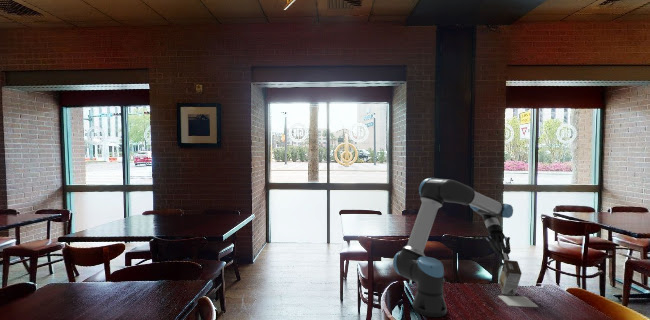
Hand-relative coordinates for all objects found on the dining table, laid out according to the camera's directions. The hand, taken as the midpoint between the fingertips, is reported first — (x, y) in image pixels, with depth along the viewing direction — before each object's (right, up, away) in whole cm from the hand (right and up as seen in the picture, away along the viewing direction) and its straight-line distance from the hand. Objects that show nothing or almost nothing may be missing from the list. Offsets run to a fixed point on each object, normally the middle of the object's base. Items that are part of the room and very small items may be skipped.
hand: (507, 265), depth 174 cm
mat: (-1, -15, -10) cm, 18 cm away
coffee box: (0, -13, +1) cm, 13 cm away
